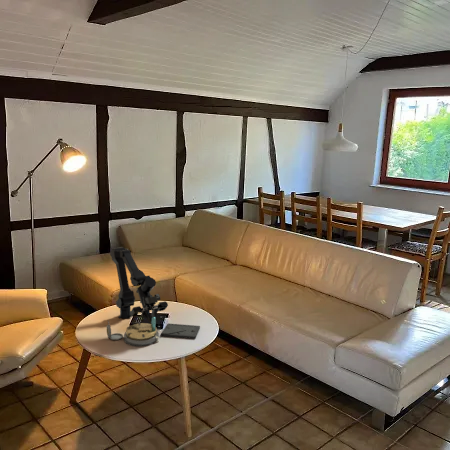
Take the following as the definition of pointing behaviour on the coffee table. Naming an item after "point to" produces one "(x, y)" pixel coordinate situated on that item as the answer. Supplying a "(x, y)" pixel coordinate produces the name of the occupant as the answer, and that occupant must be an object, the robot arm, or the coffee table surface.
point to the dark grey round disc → (141, 343)
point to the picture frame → (180, 331)
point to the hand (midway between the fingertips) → (154, 324)
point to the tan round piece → (142, 331)
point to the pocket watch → (113, 336)
